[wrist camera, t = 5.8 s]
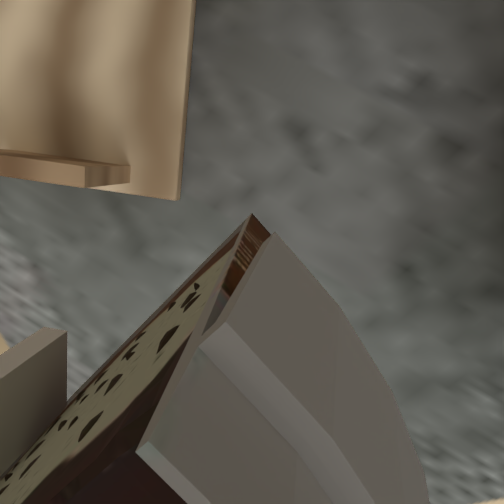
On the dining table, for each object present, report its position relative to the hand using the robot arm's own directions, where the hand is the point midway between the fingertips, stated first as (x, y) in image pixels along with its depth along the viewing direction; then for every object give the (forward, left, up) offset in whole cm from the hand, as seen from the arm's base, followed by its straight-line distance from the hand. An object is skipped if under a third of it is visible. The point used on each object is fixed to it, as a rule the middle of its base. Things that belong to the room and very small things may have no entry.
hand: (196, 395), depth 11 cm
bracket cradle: (+14, -13, -17) cm, 26 cm away
